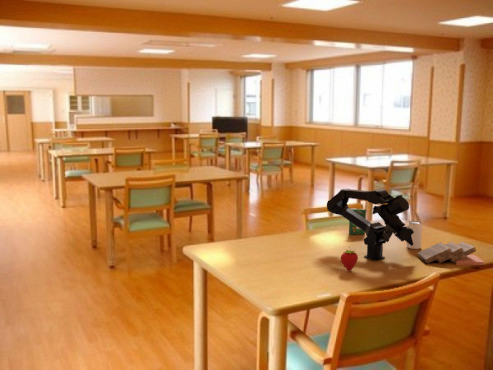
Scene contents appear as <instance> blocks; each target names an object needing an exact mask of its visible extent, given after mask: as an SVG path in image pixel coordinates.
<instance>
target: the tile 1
mask: <svg viewBox="0 0 493 370" xmlns="http://www.w3.org/2000/svg"><path fill="white" fill-rule="evenodd" d="M450 253H452V252H451V249H450V248H449V247H447V246H446V244H444V243H443V242H442V241H439V242H438V243H435V244H434V245H431V246H429V247H427V248H425V249H422V250H420V251H418V252H417V256H418V257H419V259H421V260H423V262H425V263H426V264H431V262H434V261H436V259H439V258H441V257H443V256H445V255H447V254H450Z"/></svg>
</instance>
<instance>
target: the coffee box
mask: <svg viewBox="0 0 493 370" xmlns="http://www.w3.org/2000/svg"><path fill="white" fill-rule="evenodd" d="M350 209H351V210H353V211H354V212H356V213H357V214H359V215H360V216H362V217H363V218H365V219H366V220H367V209H366V208H350ZM348 221H349V220H348ZM348 223H349V225H348V235H350V236H356V235H355V234H359V235H361V234H362V235H366V233H365V232H364V231H363V230H362V229H360V228H359V227H357V226H356V225H354V224H353V223H352V222H350V221H349V222H348Z"/></svg>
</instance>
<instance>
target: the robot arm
mask: <svg viewBox="0 0 493 370" xmlns="http://www.w3.org/2000/svg"><path fill="white" fill-rule="evenodd" d="M351 199H353V200H354V199H355V200H362V201H363V200H364V201H365V202H368V203H370V204H373V205H374V206H373V208H372V215H375V214H377V215H378V216H379V217H380V218H381V219H382V221H383V223H384V225H383V224H382V223H381V222H379V221H378V222H377V221H376V222H373V223H372V222H370V221H369V220H368V219H367V218H366V219H365V218H363V217H362V216H360V215H359V214H357V213H356V212H354V211H353V210H351V209H352V208H350V207H349V204H348V202H349V200H351ZM379 204H380V205H379ZM326 209H327V211H328V212H330V213H331V214H334V215H338V216H341V217H343V218H344V219H346V220H347V221H350V222H352V223H353V224H354V225H356V226H357V227H359V228H360V229H362V230H363V231H364V232H365V235H366V237H365V238H364V239H363V243H364V245H365V246H366V247H367V248H366V254H365V255H364V256H363V257H364V258H366V259H369V260H373V261H379V260H384V259H386V257H385V256H384V254H383V252H384V249H383V248H384V246H383V245H384V244H386V243H388V242H389V241H390V239H391V237H392V236H393V235H394V236H395V237H396V238H397V239H398V240H399V241H401V242H404V241H405V242H406V244H407V243H409V244H410V245H411V246H412V245H413V241H412V236H411V235H412V234H413V233H414V231H413V230H412V229H411V228H410V227H407V226H406V223H405V222H403V221H402V219H400V216H399V214H402V213H404V212H406V211H409V209H410V203H409V201H408V200H407V199H406V198H405V197H403V195H402V194H399V195H398V194H397V196H395V197H394V196H392V195H391V194H390V193H389V192H388V191H387V190H386V189H382V188H381V189H376V190H375V189H374V190H364V189H363V190H361V189H351V188H343V189H340V190H339V191H338V193H336V194H335V195H334V196H332V197H331V198H330V199H329V200H328V201H327V202H326Z"/></svg>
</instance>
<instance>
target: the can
mask: <svg viewBox="0 0 493 370" xmlns="http://www.w3.org/2000/svg"><path fill="white" fill-rule="evenodd" d="M406 227H410V228H411V229H412V230H413V231H414V233H413V234H412V235H411V236H412V241H413V245H412V246H411V245H410V244H409V243H407V242H406V248H408V249H409V250H420V249H421V248H422V237H423V234H422V233H423V224H422V222H421V221H419V220H409V221H408V222H407V226H406Z"/></svg>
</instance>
